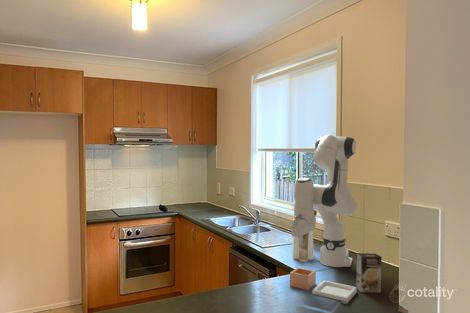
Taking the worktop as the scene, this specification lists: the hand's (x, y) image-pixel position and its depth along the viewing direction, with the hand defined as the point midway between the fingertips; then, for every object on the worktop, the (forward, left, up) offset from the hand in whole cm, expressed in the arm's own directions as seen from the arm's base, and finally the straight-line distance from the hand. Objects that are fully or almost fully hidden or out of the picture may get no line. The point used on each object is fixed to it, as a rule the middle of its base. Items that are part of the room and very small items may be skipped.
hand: (303, 242), depth 168 cm
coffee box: (-14, +26, -21) cm, 36 cm away
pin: (0, 0, -8) cm, 8 cm away
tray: (0, +15, -20) cm, 25 cm away
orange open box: (0, 0, -20) cm, 20 cm away
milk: (-47, -20, -21) cm, 55 cm away
